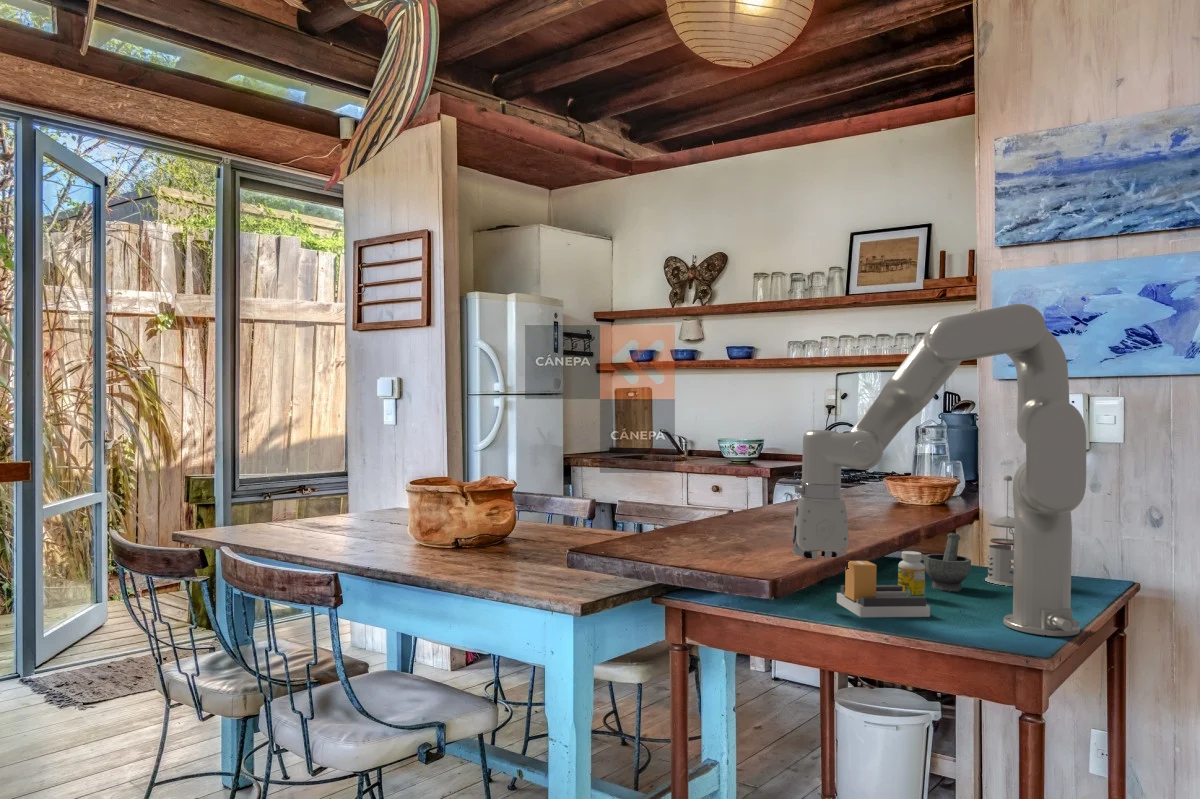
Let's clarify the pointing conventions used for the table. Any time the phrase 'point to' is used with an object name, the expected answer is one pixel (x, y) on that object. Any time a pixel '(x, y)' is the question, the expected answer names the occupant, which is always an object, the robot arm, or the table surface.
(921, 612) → the breaker panel
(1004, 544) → the french press
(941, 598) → the table surface
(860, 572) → the orange rectangular block
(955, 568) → the mortar and pestle
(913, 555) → the supplement bottle
